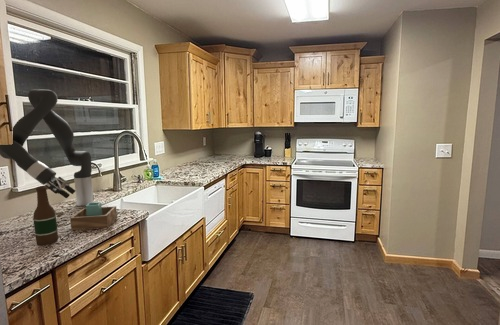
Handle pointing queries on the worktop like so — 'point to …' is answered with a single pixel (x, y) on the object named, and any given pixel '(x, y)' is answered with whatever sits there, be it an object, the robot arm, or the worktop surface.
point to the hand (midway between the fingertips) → (71, 194)
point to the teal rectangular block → (94, 209)
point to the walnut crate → (93, 219)
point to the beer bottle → (44, 219)
